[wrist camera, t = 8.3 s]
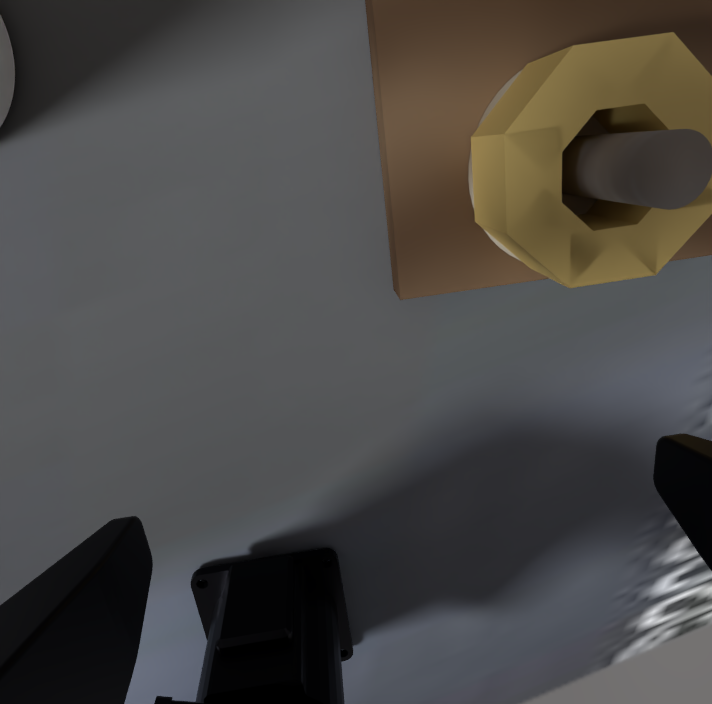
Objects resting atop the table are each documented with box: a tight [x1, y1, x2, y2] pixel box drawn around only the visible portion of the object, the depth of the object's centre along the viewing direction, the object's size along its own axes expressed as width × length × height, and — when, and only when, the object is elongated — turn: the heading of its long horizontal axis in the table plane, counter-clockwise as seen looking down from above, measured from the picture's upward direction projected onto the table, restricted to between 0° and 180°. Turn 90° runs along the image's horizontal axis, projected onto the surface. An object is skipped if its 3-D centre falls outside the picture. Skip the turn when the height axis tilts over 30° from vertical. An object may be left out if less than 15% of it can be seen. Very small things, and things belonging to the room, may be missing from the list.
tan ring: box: [471, 32, 712, 288], centre depth 16 cm, size 6×6×3 cm
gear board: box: [365, 0, 712, 300], centre depth 14 cm, size 16×12×7 cm
